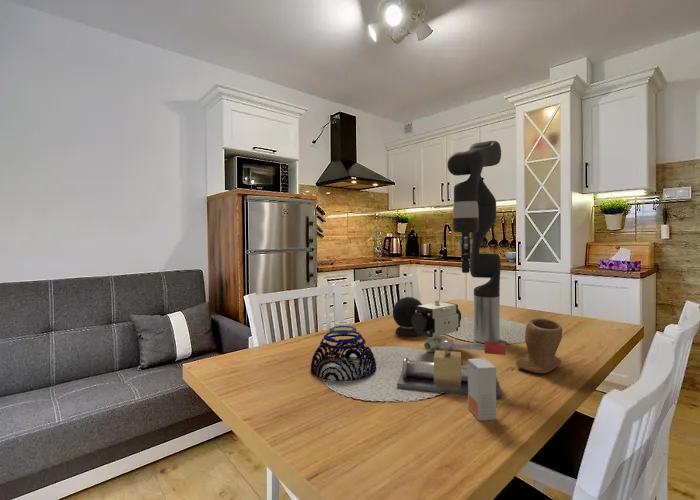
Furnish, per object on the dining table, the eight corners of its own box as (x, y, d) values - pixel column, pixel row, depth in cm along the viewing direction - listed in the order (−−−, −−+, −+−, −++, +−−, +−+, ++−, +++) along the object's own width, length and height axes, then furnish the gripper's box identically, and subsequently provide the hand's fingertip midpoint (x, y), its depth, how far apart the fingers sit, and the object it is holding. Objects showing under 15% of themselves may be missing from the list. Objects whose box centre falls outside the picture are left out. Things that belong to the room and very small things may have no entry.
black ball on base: (429, 331, 153) (429, 296, 152) (417, 339, 142) (417, 301, 141) (400, 327, 160) (400, 293, 159) (387, 334, 149) (387, 298, 148)
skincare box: (467, 408, 86) (467, 358, 86) (484, 407, 87) (484, 357, 86) (478, 421, 80) (478, 368, 80) (497, 420, 81) (497, 367, 80)
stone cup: (551, 381, 101) (551, 327, 101) (509, 368, 111) (510, 319, 110) (573, 367, 111) (574, 318, 110) (533, 357, 120) (533, 312, 119)
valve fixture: (403, 371, 110) (403, 339, 109) (496, 380, 102) (496, 346, 102) (397, 387, 98) (396, 352, 98) (500, 399, 91) (501, 360, 90)
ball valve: (429, 359, 120) (428, 305, 119) (411, 352, 127) (410, 301, 126) (465, 349, 130) (465, 299, 129) (446, 343, 137) (446, 296, 136)
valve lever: (504, 351, 97) (504, 342, 97) (505, 355, 94) (505, 346, 94) (441, 346, 102) (441, 338, 102) (441, 350, 99) (441, 341, 99)
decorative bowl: (383, 360, 120) (382, 317, 119) (365, 385, 101) (364, 333, 100) (326, 355, 126) (325, 313, 125) (300, 376, 107) (299, 328, 107)
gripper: (479, 215, 105) (479, 275, 106) (477, 217, 118) (477, 270, 119) (452, 216, 108) (452, 274, 108) (453, 217, 120) (453, 270, 121)
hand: (465, 272), depth 114 cm, fingers closed
